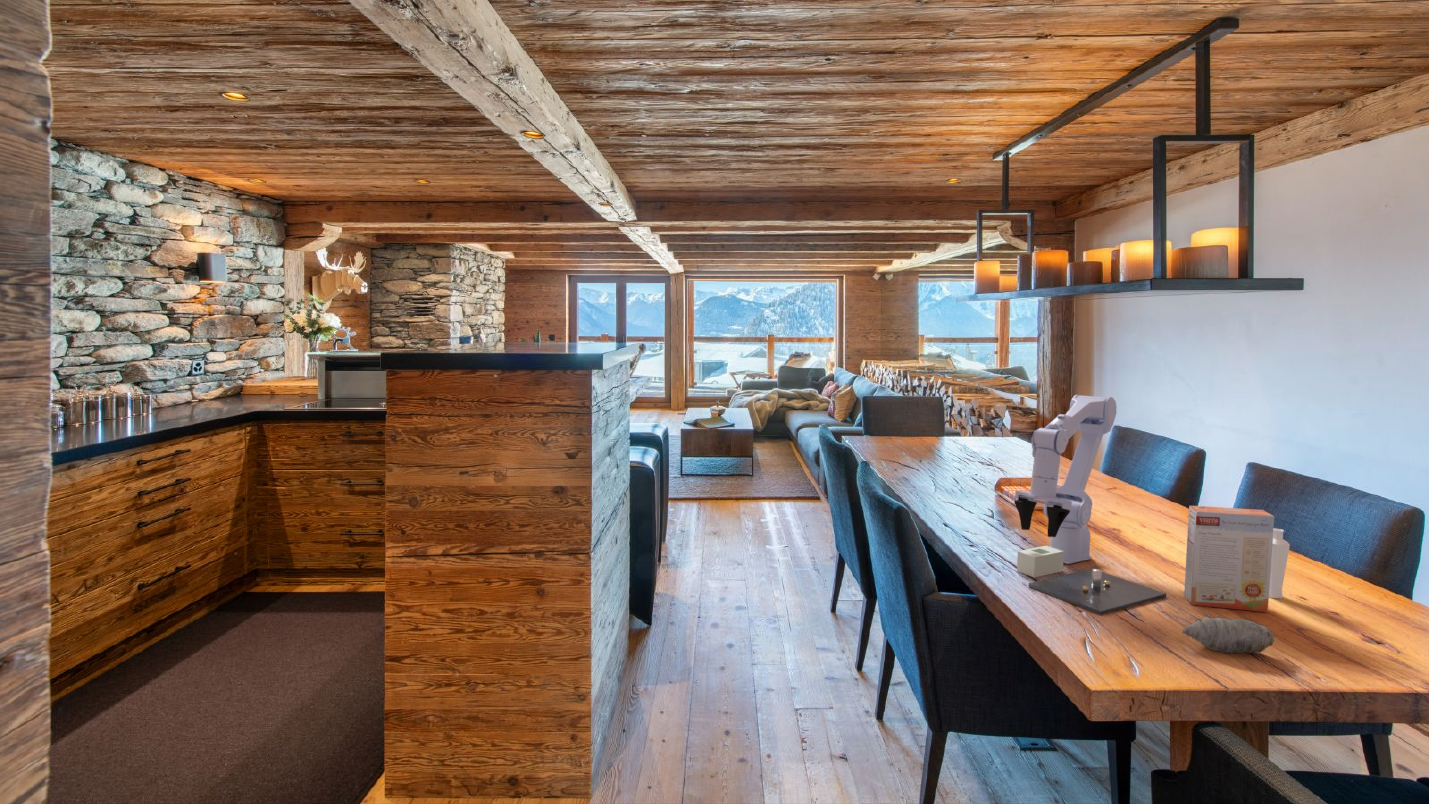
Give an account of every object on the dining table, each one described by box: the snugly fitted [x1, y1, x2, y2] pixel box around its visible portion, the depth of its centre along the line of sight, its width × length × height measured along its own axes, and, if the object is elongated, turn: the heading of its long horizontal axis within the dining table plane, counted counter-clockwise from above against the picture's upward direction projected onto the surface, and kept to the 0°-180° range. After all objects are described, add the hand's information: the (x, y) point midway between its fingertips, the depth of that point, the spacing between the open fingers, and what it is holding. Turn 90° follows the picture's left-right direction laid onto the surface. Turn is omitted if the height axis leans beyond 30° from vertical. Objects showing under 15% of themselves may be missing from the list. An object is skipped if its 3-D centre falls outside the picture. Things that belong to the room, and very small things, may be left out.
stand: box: [1028, 568, 1167, 616], centre depth 160 cm, size 22×18×5 cm
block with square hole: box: [1016, 545, 1064, 578], centre depth 173 cm, size 10×5×5 cm, turn 116°
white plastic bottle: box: [1269, 527, 1291, 599], centre depth 157 cm, size 5×4×15 cm
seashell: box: [1181, 617, 1275, 654], centre depth 131 cm, size 6×14×8 cm, turn 75°
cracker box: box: [1183, 505, 1275, 613], centre depth 152 cm, size 14×6×21 cm, turn 71°
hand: (1038, 533), depth 172 cm, fingers open, 7 cm apart
